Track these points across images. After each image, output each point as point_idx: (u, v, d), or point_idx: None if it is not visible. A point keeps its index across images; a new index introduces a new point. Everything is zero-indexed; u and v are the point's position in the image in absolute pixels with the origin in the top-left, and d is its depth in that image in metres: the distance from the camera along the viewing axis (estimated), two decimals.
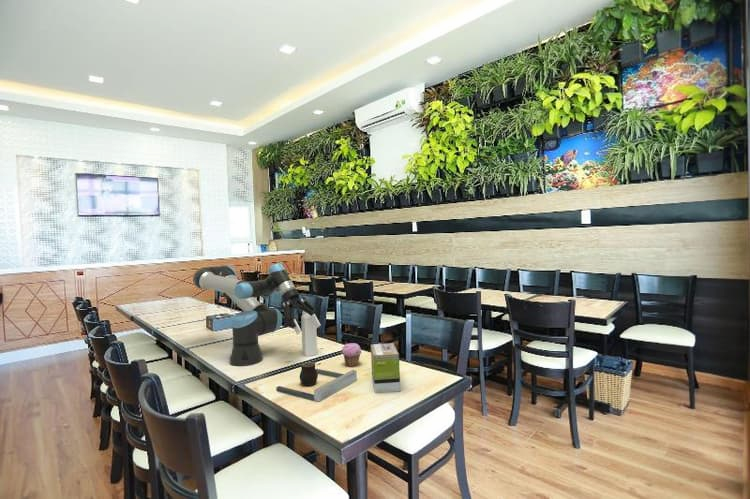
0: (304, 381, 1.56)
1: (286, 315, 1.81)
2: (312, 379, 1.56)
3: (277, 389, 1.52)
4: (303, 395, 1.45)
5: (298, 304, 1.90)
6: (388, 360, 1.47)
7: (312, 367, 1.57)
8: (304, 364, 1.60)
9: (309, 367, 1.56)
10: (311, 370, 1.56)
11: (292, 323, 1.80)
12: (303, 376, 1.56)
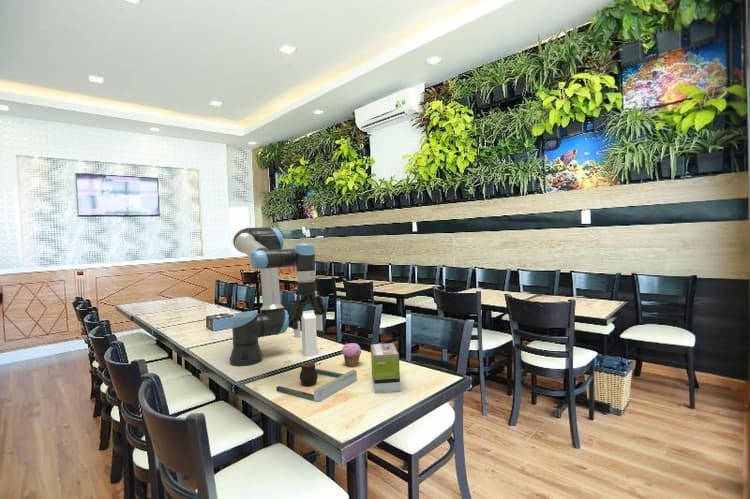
0: (304, 381, 1.56)
1: (292, 314, 1.52)
2: (312, 379, 1.56)
3: (277, 389, 1.52)
4: (303, 395, 1.45)
5: (310, 300, 1.60)
6: (388, 360, 1.47)
7: (312, 367, 1.57)
8: (304, 364, 1.60)
9: (309, 367, 1.56)
10: (311, 370, 1.56)
11: (295, 325, 1.52)
12: (303, 376, 1.56)
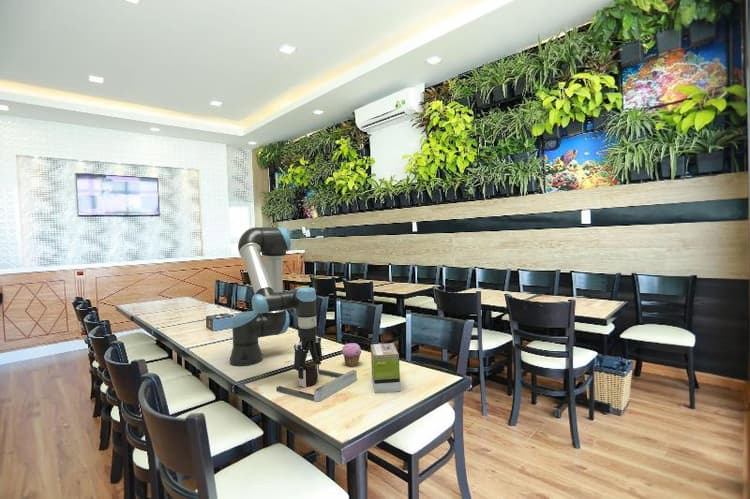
0: None
1: (297, 364, 1.52)
2: (313, 379, 1.56)
3: (277, 389, 1.52)
4: (303, 395, 1.45)
5: (311, 346, 1.58)
6: (388, 360, 1.47)
7: (312, 367, 1.57)
8: None
9: (309, 367, 1.56)
10: (311, 370, 1.56)
11: (300, 375, 1.54)
12: None
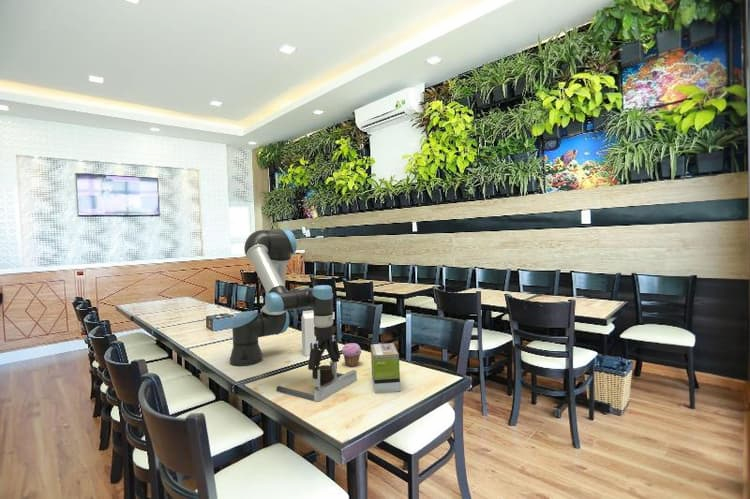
0: (321, 385, 1.51)
1: (312, 364, 1.47)
2: None
3: (277, 389, 1.52)
4: (303, 395, 1.45)
5: (327, 345, 1.54)
6: (388, 360, 1.47)
7: (329, 370, 1.52)
8: (320, 367, 1.56)
9: (326, 370, 1.52)
10: (328, 373, 1.52)
11: (314, 374, 1.48)
12: (320, 380, 1.51)
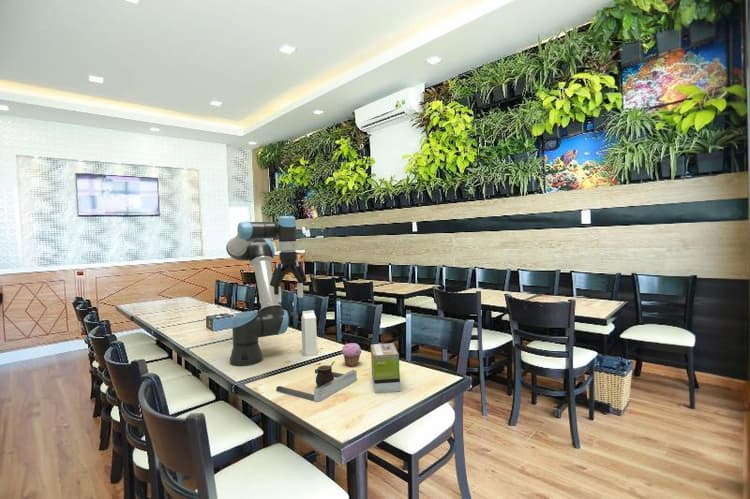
0: (321, 385, 1.51)
1: (273, 280, 1.65)
2: None
3: (277, 389, 1.52)
4: (303, 395, 1.45)
5: (291, 269, 1.73)
6: (388, 360, 1.47)
7: (329, 370, 1.52)
8: (320, 367, 1.56)
9: (326, 370, 1.52)
10: (328, 373, 1.52)
11: (276, 290, 1.66)
12: (320, 380, 1.51)
